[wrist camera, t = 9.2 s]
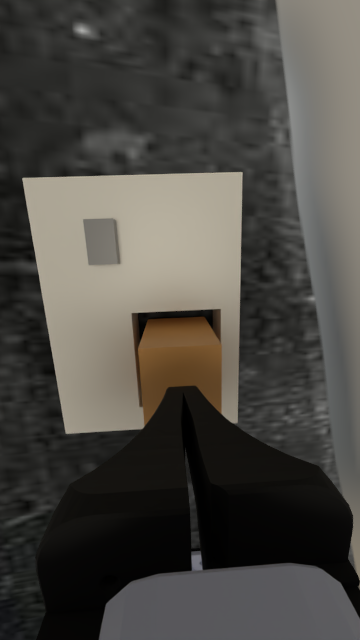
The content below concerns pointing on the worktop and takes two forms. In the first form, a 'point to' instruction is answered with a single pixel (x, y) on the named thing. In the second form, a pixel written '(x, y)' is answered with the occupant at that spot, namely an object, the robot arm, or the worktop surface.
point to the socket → (132, 280)
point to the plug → (179, 360)
